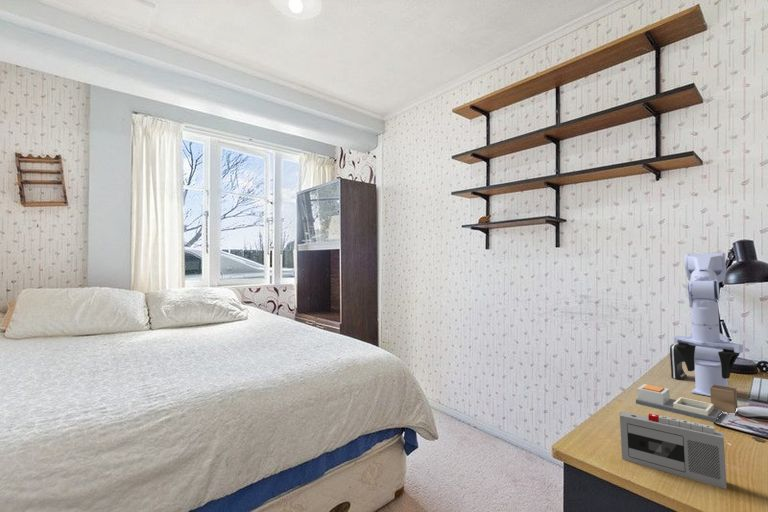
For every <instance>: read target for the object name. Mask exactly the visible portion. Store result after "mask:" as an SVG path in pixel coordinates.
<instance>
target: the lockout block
mask: <svg viewBox="0 0 768 512" xmlns="http://www.w3.org/2000/svg"><path fill="white" fill-rule="evenodd" d="M710 394H711V396H710V403H711V404H714V408H716V409H721V410H722V411H723V412H727V413H735V411H736V408H737V407H738V393H737V387H729V386H728V387H725V386H720V385H713V386H712V387H711V388H710ZM738 408H739V407H738Z"/></svg>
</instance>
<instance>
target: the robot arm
mask: <svg viewBox="0 0 768 512" xmlns="http://www.w3.org/2000/svg"><path fill="white" fill-rule="evenodd" d="M684 269H685V273H686V274H685V275H686V278H687V280H688V282H687V283H686V292H687V293H686V295H687V299H688V306H689V307H690V322H691V323H690V324H691V333H690V334H689V335H688V336H683V335H682V336H681V335H675V336H673V344H676V343H677V344H678V345H677V346H676V348H677V349H678V351H679V352H680V354H681V355H682V357H683V359H684V361H685V362H684V363H685V366H686V369H687V372H694V380H695V381H694V383H695V385H694V386H695V387H694V388H693V389H691V391H690V392H691V393H692V394H697V395H701V396H708V397H711V394H710V388H711V387H712V386H713V385H720V386H725V387H729V380H728V379H730V377H731V371H732V369H733V365H734V363H735V362H736V360H737V359H738V358H739V356H740V354H742V353H743V352H744V345H743V344H741V343H733V342H731V340H730V339H729V337H728V336H726V335H724V334H723V333H721V331H720V316H719V302H720V297H721V296H720V285H719V283H721V282H724V281H725V280H726V276H727V275H726V270H727V266H726V253H724V251H721V252H702V253H701V252H699V253H688V252H687V253H686V254H685V255H684Z"/></svg>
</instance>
